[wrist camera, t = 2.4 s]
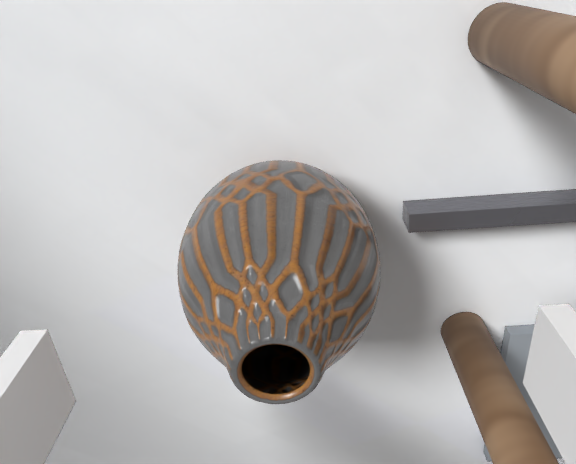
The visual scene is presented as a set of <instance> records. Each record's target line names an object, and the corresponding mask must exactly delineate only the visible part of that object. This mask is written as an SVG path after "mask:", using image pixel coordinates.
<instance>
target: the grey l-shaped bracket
mask: <svg viewBox="0 0 576 464" xmlns="http://www.w3.org/2000/svg"><path fill="white" fill-rule="evenodd" d="M403 221H404V223H405V225H406V228H407V230H408V232H409V233H411V232H426V231H441V230H457V229H472V228H487V227H502V226H517V225H532V224H547V223H562V222H576V189H571V190H557V191H542V192H528V193H513V194H499V195H484V196H470V197H455V198H441V199H426V200H412V201H403Z"/></svg>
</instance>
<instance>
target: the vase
mask: <svg viewBox="0 0 576 464" xmlns="http://www.w3.org/2000/svg"><path fill="white" fill-rule="evenodd" d="M379 284H380V255H379V250H378V245H377V241H376V237H375V234H374V231H373V229H372V226H371V224H370V221H369V219H368V217H367V215H366V213H365V212H364V210H363V208H362V206H361V205H360V203H359V202H358V200H357V199H356V198H355V197H354V196H353V194H352V193H351V192H350V191H349V190H348V189H347V188H346V187H345V186H344V185H343V184H341V183H340V182H339V181H338V180H336V179H335V178H334V177H332V176H330V175H329V174H327V173H325V172H323V171H322V170H320V169H317V168H315V167H313V166H310V165H307V164H303V163H299V162H293V161H282V160H279V161H266V162H260V163H256V164H253V165H250V166H247V167H245V168H242V169H240V170H238V171H236V172H234V173H232V174H230V175H229V176H227V177H226V178H224V179H223V180H222V181H220V182H219V183H218V184H217V185H216V186H215V187H213V188H212V189H211V190H210V191H209V192H208V193H207V194H206V195H205V197H204V198H203V199H202V200H201V202H200V203H199V205H198V206H197V208H196V210H195V211H194V213H193V215H192V217H191V219H190V221H189V223H188V225H187V228H186V230H185V233H184V236H183V239H182V242H181V246H180V250H179V258H178V286H179V292H180V298H181V302H182V306H183V310H184V313H185V315H186V318H187V320H188V323H189V325H190V327H191V329H192V330H193V332H194V333H195V335H196V336H197V338H198V339H199V341H200V342H201V343H202V345H203V346H204V347H205V348H206V349H207V350H208V351H209V352H210V353H211V354H212V355H213V356H214V357H215V358H216V359H217V360H218V361H220V362H221V363H222V364H223V365H224V366H225V367H226V368H227V370H228V372H229V375H230V377H231V379H232V381H233V383H234V384H235V386H236V387H237V388H238V389H239V390H240V391H241V392H242V393H243V394H244V395H246V396H248V397H249V398H251V399H253V400H256V401H259V402H263V403H268V404H285V403H290V402H294V401H297V400H299V399H301V398H303V397H305V396H307V395H308V394H309V393H310V392H312V391H313V390H314V389H315V387H316V386H317V385H318V383H319V381H320V380H321V378H322V376H323V374H324V372H325V370H326V369H328V368H329V367H330V366H332V365H333V364H334V363H336V362H337V361H338V360H339V359H341V358H342V357H343V356H344V355H345V354H346V353H347V352H348V351H349V350H350V349H351V348H352V347H353V346H354V345H355V344H356V342H357V341H358V340H359V338H360V337H361V336H362V334H363V332H364V331H365V329H366V327H367V325H368V323H369V321H370V319H371V316H372V314H373V311H374V308H375V304H376V301H377V296H378V291H379Z"/></svg>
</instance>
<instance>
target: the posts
mask: <svg viewBox="0 0 576 464" xmlns="http://www.w3.org/2000/svg"><path fill="white" fill-rule="evenodd" d="M468 46H469V50H470V52H471V54H472V55H473V57H474V58H475V59H476V60H478V61H479V62H481V63H483V64H485V65H486V66H488V67H490V68H492V69H494V70H496V71H498V72H499V73H501V74H503V75H505V76H507V77H509V78H510V79H512V80H514V81H516V82H518V83H520V84H521V85H523V86H525V87H527V88H529V89H531V90H533V91H534V92H536V93H538V94H540V95H542V96H544V97H545V98H547V99H549V100H551V101H553V102H555V103H557V104H558V105H560V106H562V107H564V108H566V109H568V110H569V111H571V112H573V113H575V114H576V16H572V15H567V14H562V13H557V12H552V11H547V10H542V9H537V8H532V7H527V6H522V5H517V4H512V3H505V2H504V3H496V4H493V5H491V6H489V7H487V8H485V9H484V10H483V11H481V12H480V13H479V14H478V15H477V17H476V18H475V19H474V21H473V23H472V25H471V27H470V30H469V33H468ZM441 335H442V338H443V340H444V343H445V345H446V348H447V350H448V353H449V355H450V358H451V360H452V363H453V365H454V368H455V370H456V373H457V375H458V378H459V380H460V383H461V385H462V388H463V390H464V393H465V395H466V398H467V400H468V403H469V405H470V408H471V410H472V413H473V415H474V418H475V420H476V422H477V425H478V427H479V430H480V432H481V435H482V437H483V440H484V442H485V445H486V447H487V450H488V452H489V455H490V457H491V460H492V462H493V464H559V463H558V461H557V459H556V457H555V455H554V454H553V452H552V450H551V448H550V446H549V444H548V442H547V440H546V439H545V437H544V435H543V433H542V431H541V429H540V427H539V425H538V424H537V422H536V420H535V418H534V416H533V414H532V412H531V410H530V409H529V407H528V405H527V403H526V401H525V399H524V397H523V395H522V393H521V392H520V390H519V388H518V386H517V384H516V382H515V380H514V378H513V377H512V375H511V373H510V371H509V369H508V367H507V365H506V363H505V362H504V360H503V358H502V356H501V354H500V352H499V350H498V348H497V346H496V345H495V343H494V341H493V339H492V337H491V335H490V333H489V331H488V330H487V328H486V326H485V324H484V322H483V320H482V319H481V317H480V316H478V315H477V314H474V313H471V312H461V313H457V314H454V315H452V316H450V317H449V318H448V319H446V321H445V322H444V323H443V325H442V327H441Z"/></svg>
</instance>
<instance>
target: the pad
mask: <svg viewBox="0 0 576 464" xmlns="http://www.w3.org/2000/svg"><path fill="white" fill-rule="evenodd" d="M533 330H534V325H520V326H505V331H504V337H503V343H502V349H501V356H502V358H503V360H504V362H505V363H506V365H507V367H508V369H509V371H510V373H511V375H512V377H513V378H514V380H515V382H516V384H517V386H518V388H519V390H520V392H521V393H522V395H523V397H524V399H525V401H526V403H527V405H528V407H529V409H530V410H531V412H532V414H533V416H534V418H535V420H536V422H537V424H538V425H539V427H540V429H541V431H542V433H543V435H544V437H545V439H546V440H547V442H548V444H549V446H550V448H551V450H552V452H553V454H554V455H555V457H556V458H562V456H561V454H560V452H559V450H558V448H557V446H556V444H555V443H554V441H553V439H552V437H551V435H550V433H549V431H548V429H547V428H546V426H545V424H544V422H543V420H542V418H541V416H540V414H539V413H538V411H537V409H536V407H535V405H534V403H533V401H532V399H531V397H530V396H529V394H528V392H527V390H526V388H525V386H524V384H523V379H524V374H525V369H526V364H527V360H528V355H529V350H530V345H531V340H532V335H533ZM484 454H485V457H486V460H487V462H490V461H492V460H491V457H490V455H489V452H488V450H487V447H486V445H485V447H484Z"/></svg>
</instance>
